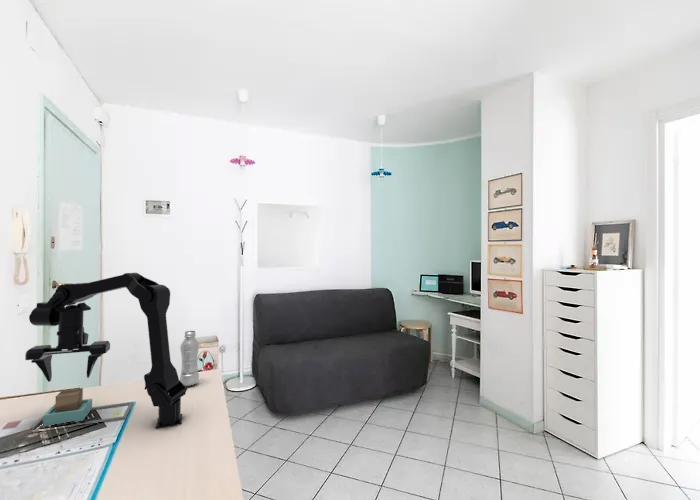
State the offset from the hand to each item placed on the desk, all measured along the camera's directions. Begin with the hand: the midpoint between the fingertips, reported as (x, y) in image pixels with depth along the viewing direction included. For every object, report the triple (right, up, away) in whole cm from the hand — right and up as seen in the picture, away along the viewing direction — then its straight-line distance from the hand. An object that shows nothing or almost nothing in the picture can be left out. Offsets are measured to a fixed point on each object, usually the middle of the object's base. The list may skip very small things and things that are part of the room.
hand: (69, 379), depth 101 cm
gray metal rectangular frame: (+4, -12, +1) cm, 13 cm away
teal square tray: (0, -12, 0) cm, 12 cm away
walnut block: (0, -9, 0) cm, 9 cm away
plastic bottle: (+23, -13, +27) cm, 38 cm away
